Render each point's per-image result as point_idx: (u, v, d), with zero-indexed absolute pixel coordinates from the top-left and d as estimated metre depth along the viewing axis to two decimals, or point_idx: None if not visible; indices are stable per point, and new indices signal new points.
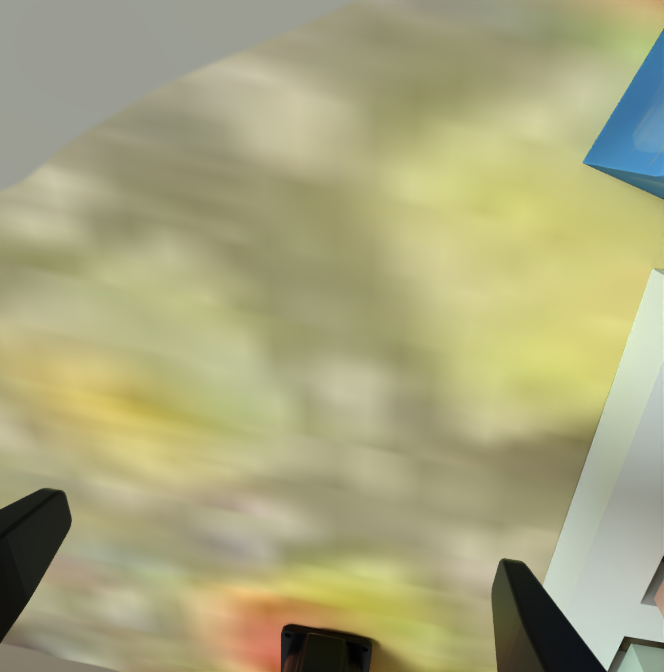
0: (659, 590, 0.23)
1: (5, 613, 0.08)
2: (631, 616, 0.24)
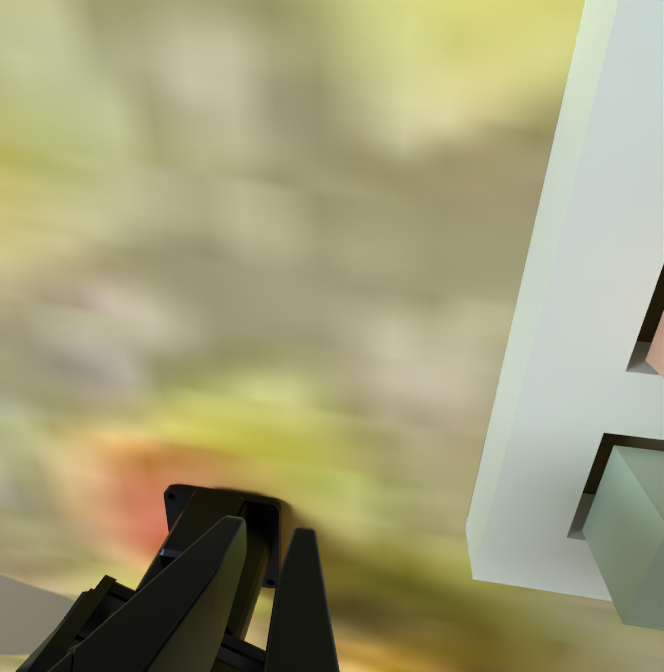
0: (653, 342, 0.16)
1: (210, 652, 0.08)
2: (613, 396, 0.17)
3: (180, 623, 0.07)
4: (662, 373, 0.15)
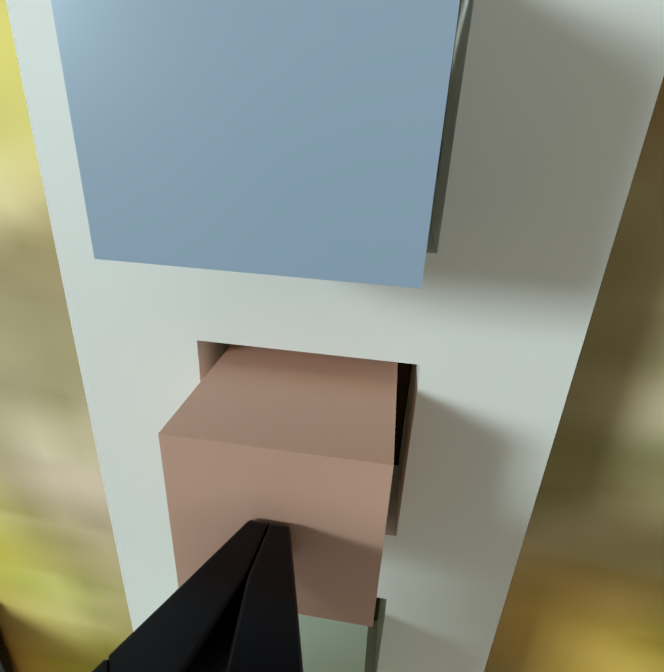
0: None
1: None
2: None
3: (213, 629, 0.07)
4: None
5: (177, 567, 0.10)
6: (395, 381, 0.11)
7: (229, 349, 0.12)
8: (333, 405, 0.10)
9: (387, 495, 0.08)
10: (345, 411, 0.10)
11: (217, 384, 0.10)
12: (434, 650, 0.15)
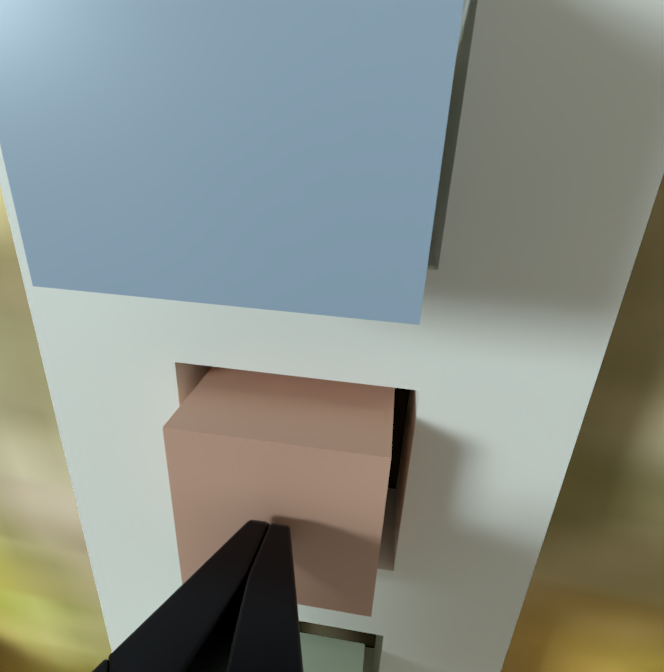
0: None
1: None
2: None
3: (213, 629, 0.07)
4: None
5: (179, 558, 0.10)
6: None
7: None
8: (332, 400, 0.10)
9: (385, 487, 0.09)
10: (345, 406, 0.10)
11: (219, 380, 0.11)
12: None
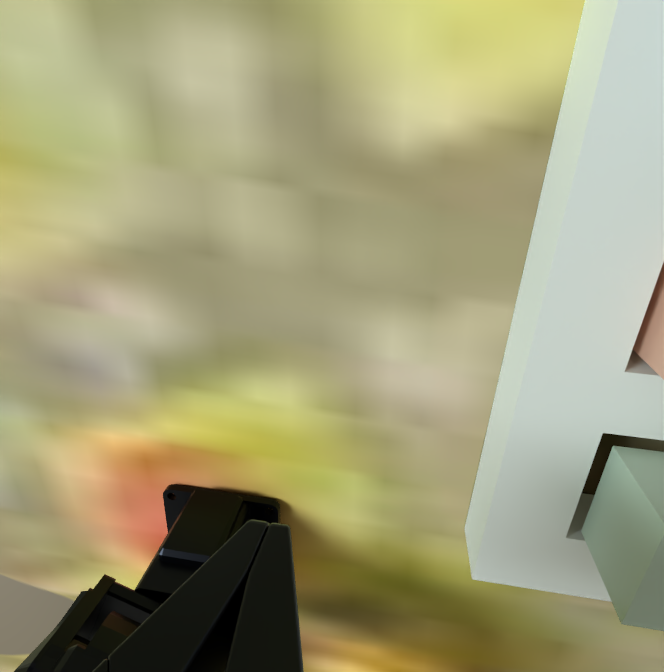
0: None
1: None
2: (612, 396, 0.17)
3: (213, 629, 0.07)
4: None
5: None
6: None
7: None
8: None
9: None
10: None
11: None
12: None
